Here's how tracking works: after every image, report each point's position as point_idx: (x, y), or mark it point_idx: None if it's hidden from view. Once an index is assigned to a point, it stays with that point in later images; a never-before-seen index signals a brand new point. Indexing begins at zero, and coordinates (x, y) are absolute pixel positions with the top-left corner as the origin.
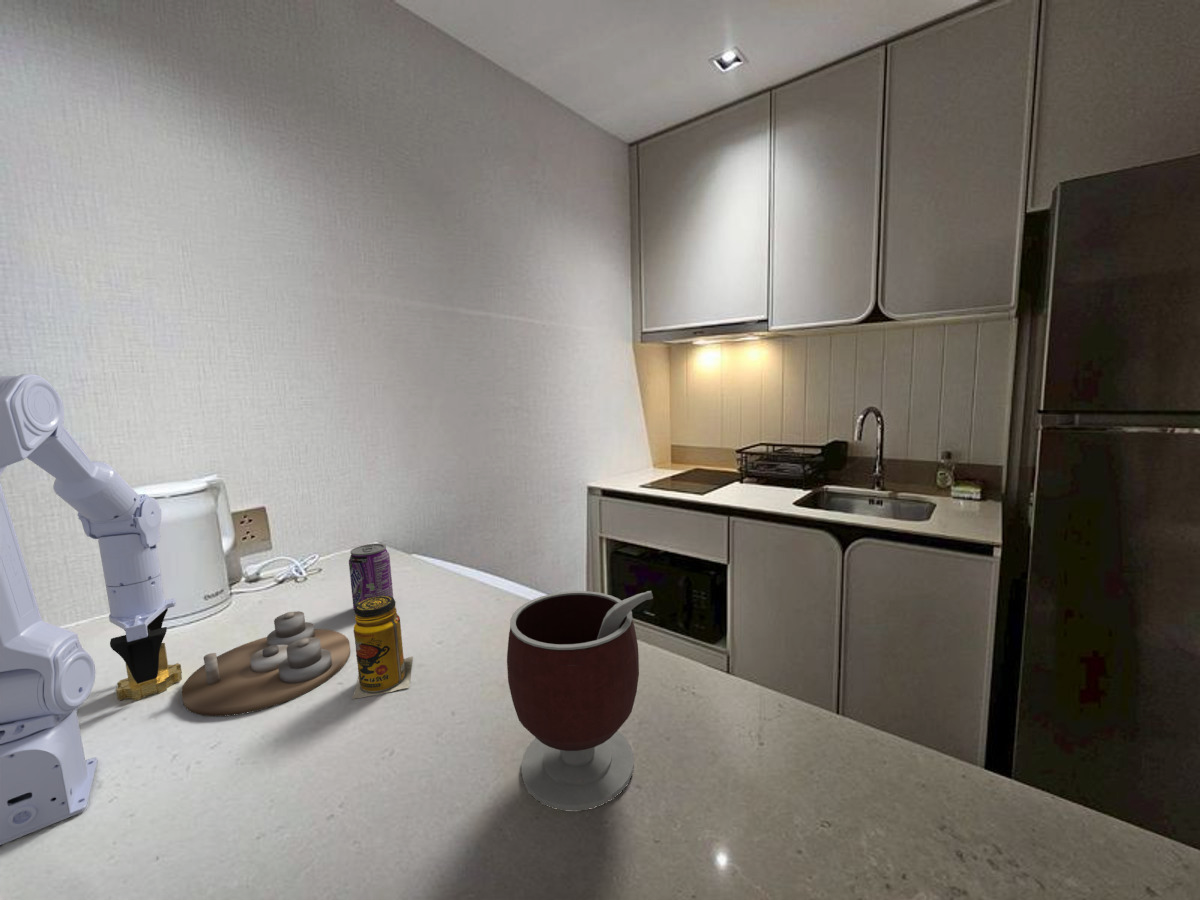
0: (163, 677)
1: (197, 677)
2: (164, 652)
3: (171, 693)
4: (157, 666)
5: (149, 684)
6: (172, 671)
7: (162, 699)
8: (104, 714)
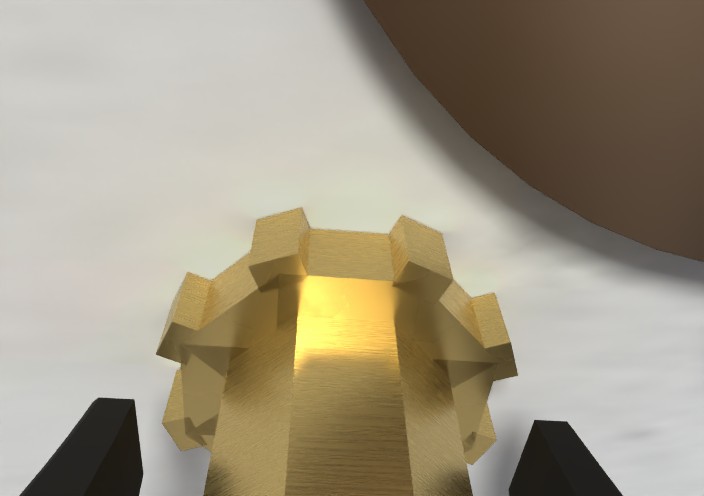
0: (449, 347)
1: (658, 174)
2: (412, 476)
3: (569, 275)
4: (619, 494)
5: (478, 404)
6: (394, 302)
7: (601, 314)
8: (489, 484)
